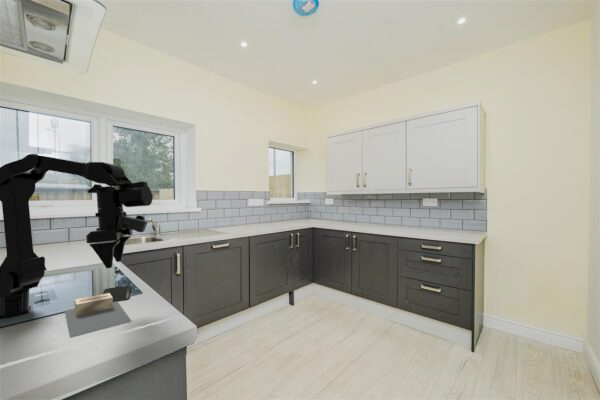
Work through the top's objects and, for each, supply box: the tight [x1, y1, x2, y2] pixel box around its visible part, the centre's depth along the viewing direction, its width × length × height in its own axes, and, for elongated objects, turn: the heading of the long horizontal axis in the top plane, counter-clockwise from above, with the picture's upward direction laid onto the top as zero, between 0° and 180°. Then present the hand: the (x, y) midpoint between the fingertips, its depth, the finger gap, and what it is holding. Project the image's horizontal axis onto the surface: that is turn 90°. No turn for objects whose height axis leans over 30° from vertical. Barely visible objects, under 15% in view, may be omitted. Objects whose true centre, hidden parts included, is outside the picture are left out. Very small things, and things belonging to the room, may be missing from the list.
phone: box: [102, 285, 132, 302], centre depth 86 cm, size 8×1×15 cm
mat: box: [64, 301, 133, 338], centre depth 70 cm, size 20×12×1 cm, turn 45°
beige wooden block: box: [73, 293, 113, 316], centre depth 74 cm, size 8×5×3 cm, turn 135°
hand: (114, 264), depth 72 cm, fingers open, 9 cm apart
